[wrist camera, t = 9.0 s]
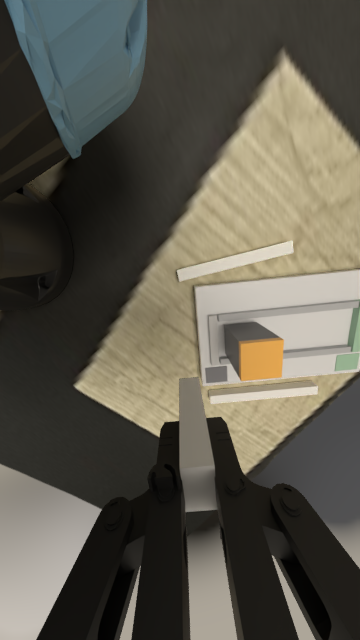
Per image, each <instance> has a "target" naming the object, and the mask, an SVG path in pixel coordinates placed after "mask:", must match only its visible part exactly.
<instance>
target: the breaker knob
mask: <svg viewBox="0 0 360 640" xmlns="http://www.w3.org/2000/svg"><path fill="white" fill-rule="evenodd" d="M224 329H225V354H226V356H227V357H228V359H229V361H230V363H231V364H232V366H233V368H234V370H235V371H236V373H237V375H238V377H239V378H240V380H241V381H249V380H260V379H270V378H281V377H282V365H283V348H284V339H282V338H281V337H279V336H277V335H276V334H274V333H273V332H271V331H270V330H268V329H267V328H265V327H264V326H262V325H260V324H259V323H257V322H249V323H239V324H229V325H224Z"/></svg>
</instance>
